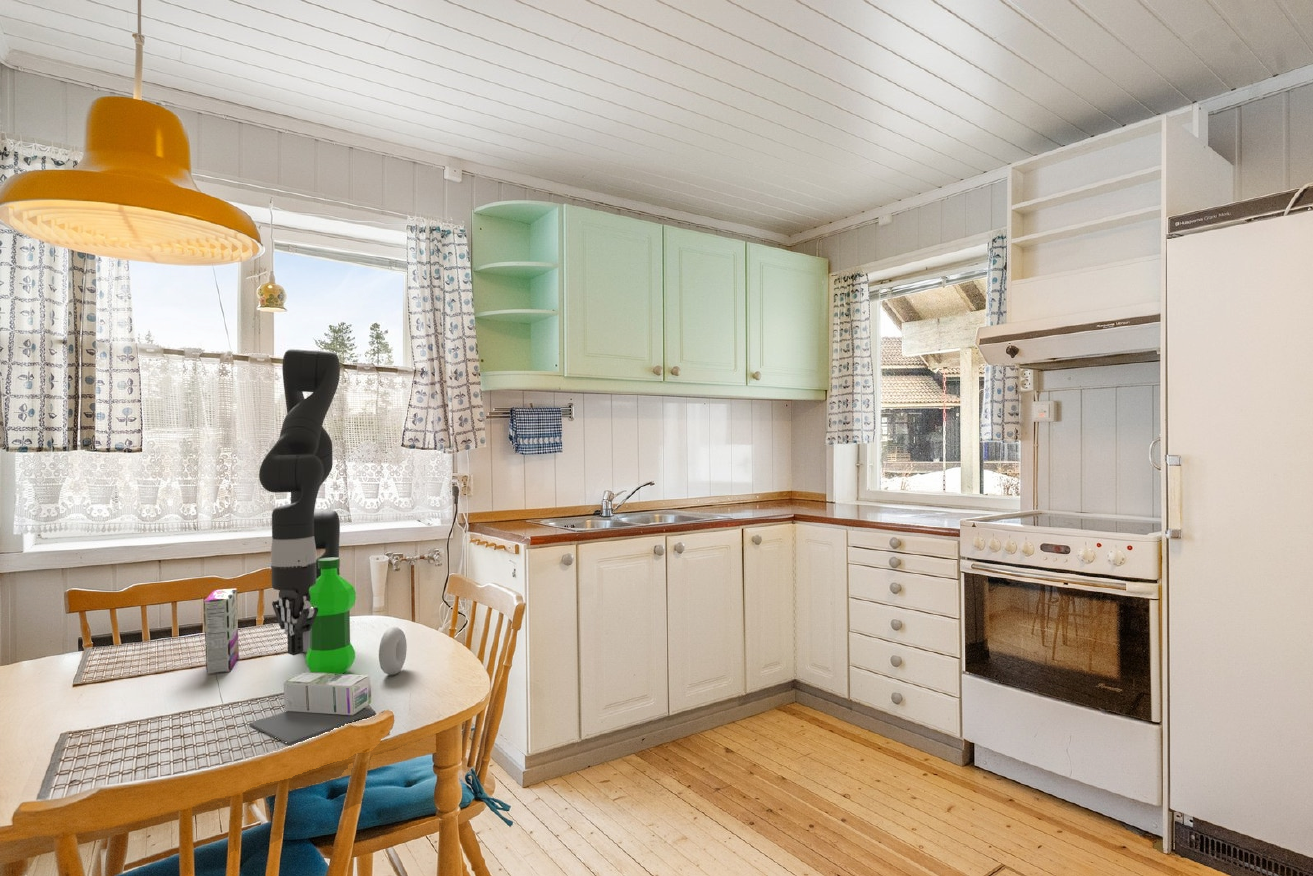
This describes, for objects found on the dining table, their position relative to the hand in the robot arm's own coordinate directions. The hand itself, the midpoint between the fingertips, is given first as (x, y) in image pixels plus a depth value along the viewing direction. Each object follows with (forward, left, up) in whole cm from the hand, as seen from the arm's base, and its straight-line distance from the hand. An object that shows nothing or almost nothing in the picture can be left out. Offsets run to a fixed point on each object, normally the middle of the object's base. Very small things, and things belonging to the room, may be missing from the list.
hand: (295, 653), depth 135 cm
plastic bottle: (-15, +15, -11) cm, 24 cm away
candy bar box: (-41, +4, -11) cm, 43 cm away
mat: (+6, 0, -11) cm, 13 cm away
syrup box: (-3, +1, -8) cm, 8 cm away
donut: (-4, +23, -11) cm, 26 cm away
